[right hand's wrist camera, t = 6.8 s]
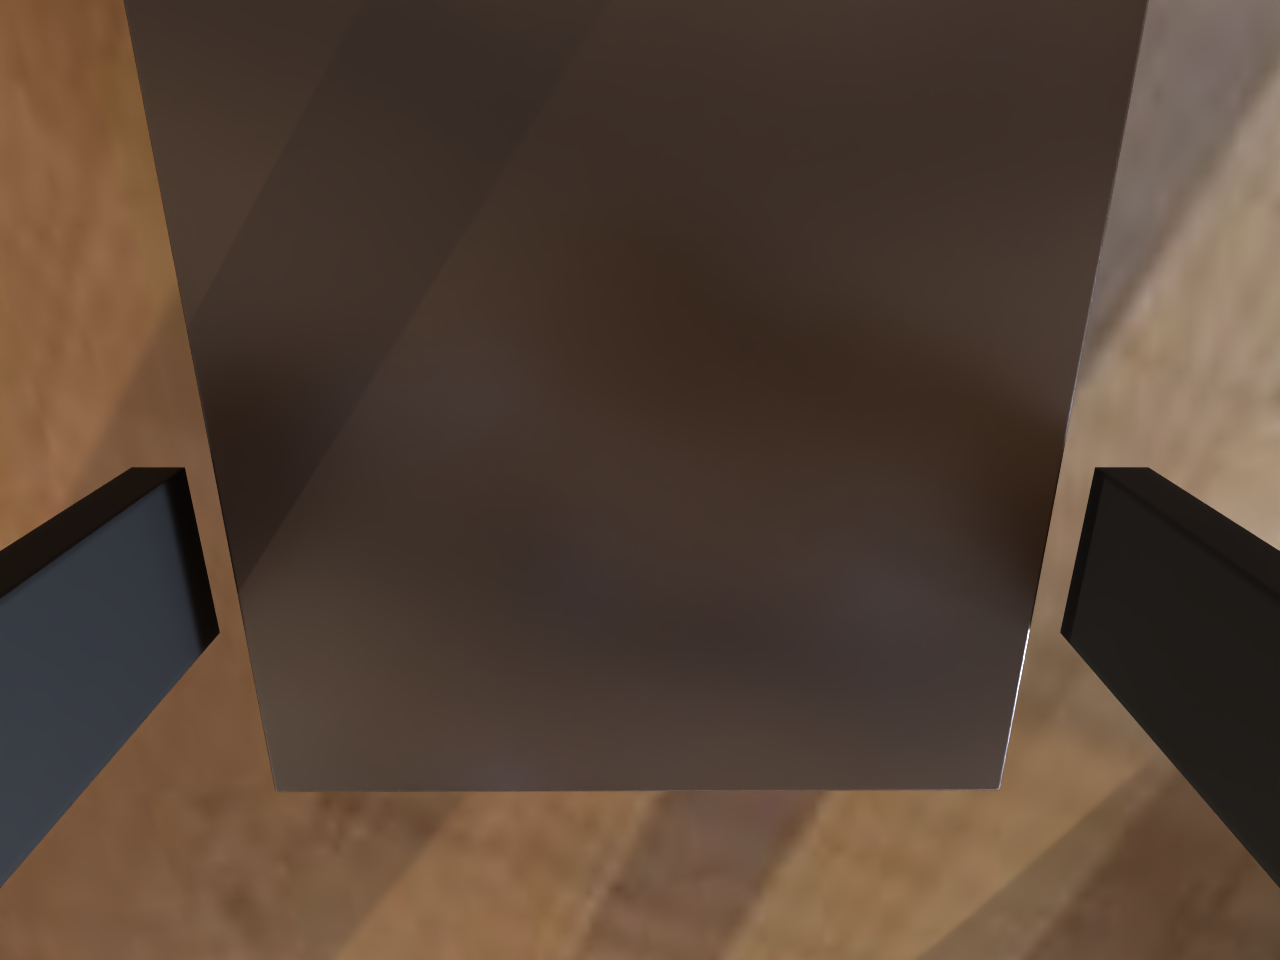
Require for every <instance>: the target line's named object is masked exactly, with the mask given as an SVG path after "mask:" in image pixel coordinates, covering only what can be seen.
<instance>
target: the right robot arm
mask: <svg viewBox="0 0 1280 960" xmlns="http://www.w3.org/2000/svg"><path fill="white" fill-rule="evenodd" d="M219 633H220V632H219V627H218V622H217V617H216V613H215V608H214V603H213V599H212V594H211V589H210V584H209V580H208V575H207V570H206V565H205V561H204V556H203V551H202V547H201V542H200V537H199V532H198V528H197V523H196V518H195V513H194V509H193V504H192V499H191V495H190V490H189V485H188V480H187V476H186V471H185V467H132V468H130V469H128V470H127V471H125V472H124V473H122V474H121V475H119V476H117V477H116V478H114V479H113V480H111V481H110V482H108V483H106V484H105V485H103V486H102V487H100V488H99V489H97V490H95V491H94V492H92V493H91V494H89V495H88V496H86V497H84V498H83V499H81V500H80V501H78V502H77V503H75V504H73V505H72V506H70V507H69V508H67V509H66V510H64V511H63V512H61V513H59V514H58V515H56V516H55V517H53V518H52V519H50V520H48V521H47V522H45V523H44V524H42V525H41V526H39V527H37V528H36V529H34V530H33V531H31V532H30V533H28V534H26V535H25V536H23V537H22V538H20V539H19V540H17V541H15V542H14V543H12V544H11V545H9V546H8V547H6V548H4V549H3V550H1V551H0V888H1V886H2V885H3V884H4V883H5V882H6V881H7V879H8V878H9V877H10V876H11V875H12V874H13V872H14V871H15V870H16V869H17V868H18V867H19V865H20V864H21V863H22V862H23V861H24V860H25V858H26V857H27V856H28V855H29V854H30V853H31V852H32V850H33V849H34V848H35V847H36V846H37V845H38V843H39V842H40V841H41V840H42V839H43V838H44V836H45V835H46V834H47V833H48V832H49V831H50V829H51V828H52V827H53V826H54V825H55V824H56V822H57V821H58V820H59V819H60V818H61V817H62V815H63V814H64V813H65V812H66V811H67V810H68V808H69V807H70V806H71V805H72V804H73V803H74V801H75V800H76V799H77V798H78V797H79V796H80V795H81V793H82V792H83V791H84V790H85V789H86V788H87V786H88V785H89V784H90V783H91V782H92V781H93V779H94V778H95V777H96V776H97V775H98V774H99V772H100V771H101V770H102V769H103V768H104V767H105V765H106V764H107V763H108V762H109V761H110V760H111V758H112V757H113V756H114V755H115V754H116V753H117V751H118V750H119V749H120V748H121V747H122V746H123V744H124V743H125V742H126V741H127V740H128V739H129V738H130V736H131V735H132V734H133V733H134V732H135V731H136V729H137V728H138V727H139V726H140V725H141V724H142V722H143V721H144V720H145V719H146V718H147V717H148V715H149V714H150V713H151V712H152V711H153V710H154V708H155V707H156V706H157V705H158V704H159V703H160V701H161V700H162V699H163V698H164V697H165V696H166V694H167V693H168V692H169V691H170V690H171V689H172V687H173V686H174V685H175V684H176V683H177V682H178V680H179V679H180V678H181V677H182V676H183V675H184V674H185V672H186V671H187V670H188V669H189V668H190V667H191V665H192V664H193V663H194V662H195V661H196V660H197V658H198V657H199V656H200V655H201V654H202V653H203V651H204V650H205V649H206V648H207V647H208V646H209V644H210V643H211V642H212V641H213V640H214V639H215V637H216V636H217V635H218V634H219ZM1060 633H1061V634H1062V635H1063V636H1064V637H1065V639H1066V640H1067V641H1068V642H1069V643H1070V644H1071V646H1072V647H1073V648H1074V649H1075V650H1076V651H1077V653H1078V654H1079V655H1080V656H1081V657H1082V658H1083V660H1084V661H1085V662H1086V663H1087V664H1088V665H1089V667H1090V668H1091V669H1092V670H1093V671H1094V672H1095V674H1096V675H1097V676H1098V677H1099V678H1100V679H1101V680H1102V682H1103V683H1104V684H1105V685H1106V686H1107V687H1108V689H1109V690H1110V691H1111V692H1112V693H1113V694H1114V696H1115V697H1116V698H1117V699H1118V700H1119V701H1120V703H1121V704H1122V705H1123V706H1124V707H1125V708H1126V710H1127V711H1128V712H1129V713H1130V714H1131V715H1132V717H1133V718H1134V719H1135V720H1136V721H1137V722H1138V724H1139V725H1140V726H1141V727H1142V728H1143V729H1144V731H1145V732H1146V733H1147V734H1148V735H1149V736H1150V738H1151V739H1152V740H1153V741H1154V742H1155V743H1156V744H1157V746H1158V747H1159V748H1160V749H1161V750H1162V751H1163V753H1164V754H1165V755H1166V756H1167V757H1168V758H1169V760H1170V761H1171V762H1172V763H1173V764H1174V765H1175V767H1176V768H1177V769H1178V770H1179V771H1180V772H1181V774H1182V775H1183V776H1184V777H1185V778H1186V779H1187V781H1188V782H1189V783H1190V784H1191V785H1192V786H1193V788H1194V789H1195V790H1196V791H1197V792H1198V793H1199V795H1200V796H1201V797H1202V798H1203V799H1204V800H1205V801H1206V803H1207V804H1208V805H1209V806H1210V807H1211V808H1212V810H1213V811H1214V812H1215V813H1216V814H1217V815H1218V817H1219V818H1220V819H1221V820H1222V821H1223V822H1224V824H1225V825H1226V826H1227V827H1228V828H1229V829H1230V831H1231V832H1232V833H1233V834H1234V835H1235V836H1236V838H1237V839H1238V840H1239V841H1240V842H1241V843H1242V845H1243V846H1244V847H1245V848H1246V849H1247V850H1248V852H1249V853H1250V854H1251V855H1252V856H1253V857H1254V858H1255V860H1256V861H1257V862H1258V863H1259V864H1260V865H1261V867H1262V868H1263V869H1264V870H1265V871H1266V872H1267V874H1268V875H1269V876H1270V877H1271V878H1272V879H1273V881H1274V882H1275V883H1276V884H1277V885H1278V886H1279V888H1280V551H1279V550H1277V549H1276V548H1274V547H1272V546H1271V545H1269V544H1268V543H1266V542H1265V541H1263V540H1261V539H1260V538H1258V537H1257V536H1255V535H1254V534H1252V533H1250V532H1249V531H1247V530H1246V529H1244V528H1243V527H1241V526H1239V525H1238V524H1236V523H1235V522H1233V521H1232V520H1230V519H1228V518H1227V517H1225V516H1224V515H1222V514H1221V513H1219V512H1217V511H1216V510H1214V509H1213V508H1211V507H1210V506H1208V505H1207V504H1205V503H1203V502H1202V501H1200V500H1199V499H1197V498H1196V497H1194V496H1192V495H1191V494H1189V493H1188V492H1186V491H1185V490H1183V489H1181V488H1180V487H1178V486H1177V485H1175V484H1174V483H1172V482H1170V481H1169V480H1167V479H1166V478H1164V477H1163V476H1161V475H1159V474H1158V473H1156V472H1155V471H1153V470H1152V469H1150V468H1148V467H1095V471H1094V476H1093V480H1092V485H1091V490H1090V495H1089V499H1088V504H1087V509H1086V513H1085V518H1084V523H1083V528H1082V532H1081V537H1080V542H1079V547H1078V551H1077V556H1076V561H1075V565H1074V570H1073V575H1072V580H1071V584H1070V589H1069V594H1068V599H1067V603H1066V608H1065V613H1064V617H1063V622H1062V627H1061V632H1060Z"/></svg>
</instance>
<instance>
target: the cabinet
mask: <svg viewBox="0 0 1280 960" xmlns="http://www.w3.org/2000/svg"><path fill="white" fill-rule="evenodd" d="M1148 2H1149V0H124V4H125V10H126V15H127V20H128V25H129V30H130V36H131V41H132V46H133V51H134V57H135V62H136V67H137V72H138V77H139V83H140V88H141V93H142V98H143V103H144V109H145V114H146V119H147V124H148V129H149V135H150V140H151V145H152V150H153V156H154V161H155V166H156V171H157V176H158V182H159V187H160V192H161V197H162V202H163V208H164V213H165V218H166V223H167V229H168V234H169V239H170V244H171V249H172V255H173V260H174V265H175V270H176V275H177V281H178V286H179V291H180V296H181V301H182V307H183V312H184V317H185V322H186V328H187V333H188V338H189V343H190V348H191V354H192V359H193V364H194V369H195V374H196V380H197V385H198V390H199V395H200V400H201V406H202V411H203V416H204V421H205V427H206V432H207V437H208V442H209V447H210V453H211V458H212V463H213V468H214V473H215V479H216V484H217V489H218V494H219V499H220V505H221V510H222V515H223V520H224V526H225V531H226V536H227V541H228V546H229V552H230V557H231V562H232V567H233V572H234V578H235V583H236V588H237V593H238V598H239V604H240V609H241V614H242V619H243V625H244V630H245V635H246V640H247V645H248V651H249V656H250V661H251V666H252V671H253V677H254V682H255V687H256V692H257V697H258V703H259V708H260V713H261V718H262V724H263V729H264V734H265V739H266V744H267V750H268V755H269V760H270V765H271V770H272V776H273V781H274V786H275V790H276V791H277V792H459V791H862V790H999V789H1000V785H1001V780H1002V774H1003V769H1004V764H1005V758H1006V753H1007V748H1008V743H1009V737H1010V732H1011V727H1012V721H1013V716H1014V711H1015V706H1016V700H1017V695H1018V690H1019V684H1020V679H1021V674H1022V669H1023V663H1024V658H1025V653H1026V647H1027V642H1028V637H1029V632H1030V626H1031V621H1032V616H1033V610H1034V605H1035V600H1036V595H1037V589H1038V584H1039V579H1040V573H1041V568H1042V563H1043V557H1044V552H1045V547H1046V542H1047V536H1048V531H1049V526H1050V520H1051V515H1052V510H1053V505H1054V499H1055V494H1056V489H1057V483H1058V478H1059V473H1060V468H1061V462H1062V457H1063V452H1064V446H1065V441H1066V436H1067V431H1068V425H1069V420H1070V415H1071V409H1072V404H1073V399H1074V394H1075V388H1076V383H1077V378H1078V372H1079V367H1080V362H1081V357H1082V351H1083V346H1084V341H1085V335H1086V330H1087V325H1088V320H1089V314H1090V309H1091V304H1092V298H1093V293H1094V288H1095V283H1096V277H1097V272H1098V267H1099V261H1100V256H1101V251H1102V246H1103V240H1104V235H1105V230H1106V224H1107V219H1108V214H1109V209H1110V203H1111V198H1112V193H1113V187H1114V182H1115V177H1116V171H1117V166H1118V161H1119V156H1120V150H1121V145H1122V140H1123V134H1124V129H1125V124H1126V119H1127V113H1128V108H1129V103H1130V97H1131V92H1132V87H1133V82H1134V76H1135V71H1136V66H1137V60H1138V55H1139V50H1140V45H1141V39H1142V34H1143V29H1144V23H1145V18H1146V13H1147V8H1148Z"/></svg>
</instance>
